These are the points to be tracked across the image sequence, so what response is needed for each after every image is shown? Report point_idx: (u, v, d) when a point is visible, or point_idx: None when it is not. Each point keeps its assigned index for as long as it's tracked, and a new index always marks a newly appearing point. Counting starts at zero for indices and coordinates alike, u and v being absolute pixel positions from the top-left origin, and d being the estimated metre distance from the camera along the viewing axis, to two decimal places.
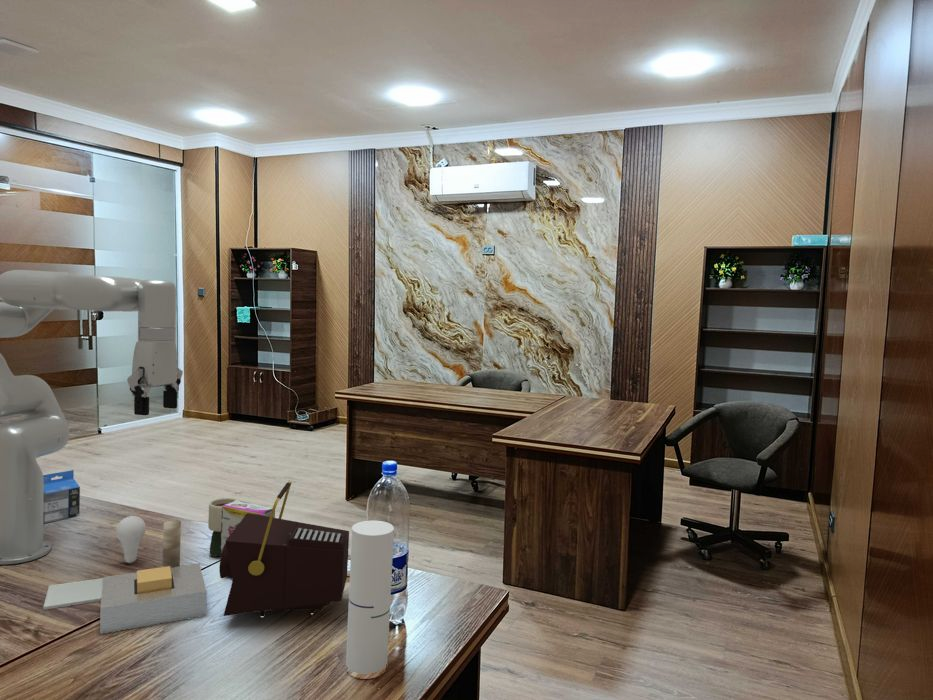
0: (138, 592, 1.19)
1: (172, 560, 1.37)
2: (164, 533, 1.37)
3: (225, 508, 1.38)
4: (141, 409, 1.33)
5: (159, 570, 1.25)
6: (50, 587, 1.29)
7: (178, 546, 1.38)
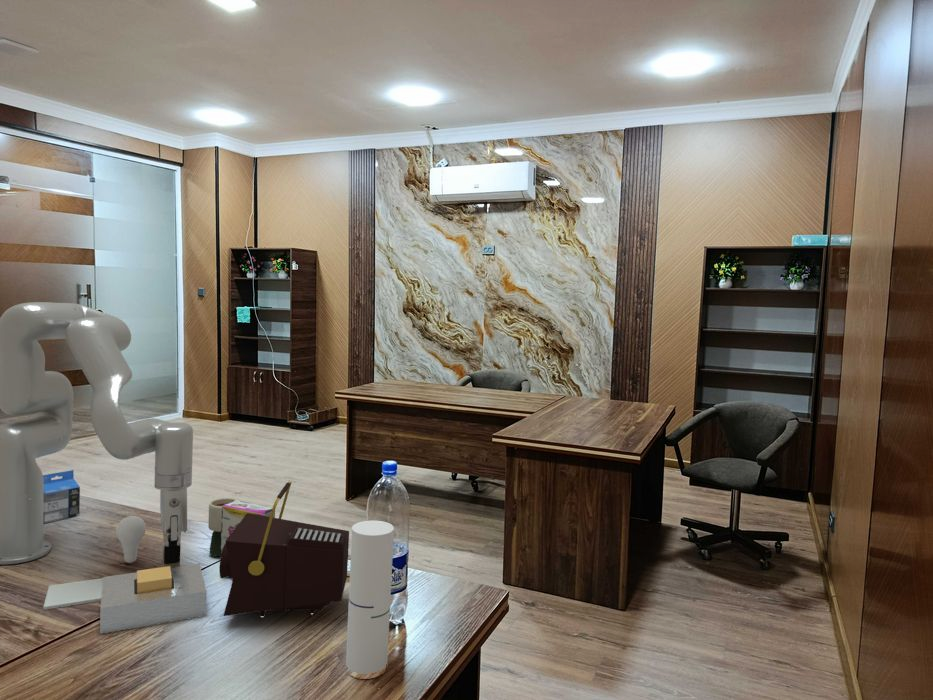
0: (138, 592, 1.19)
1: None
2: None
3: (225, 508, 1.38)
4: None
5: (159, 570, 1.25)
6: (50, 587, 1.29)
7: None
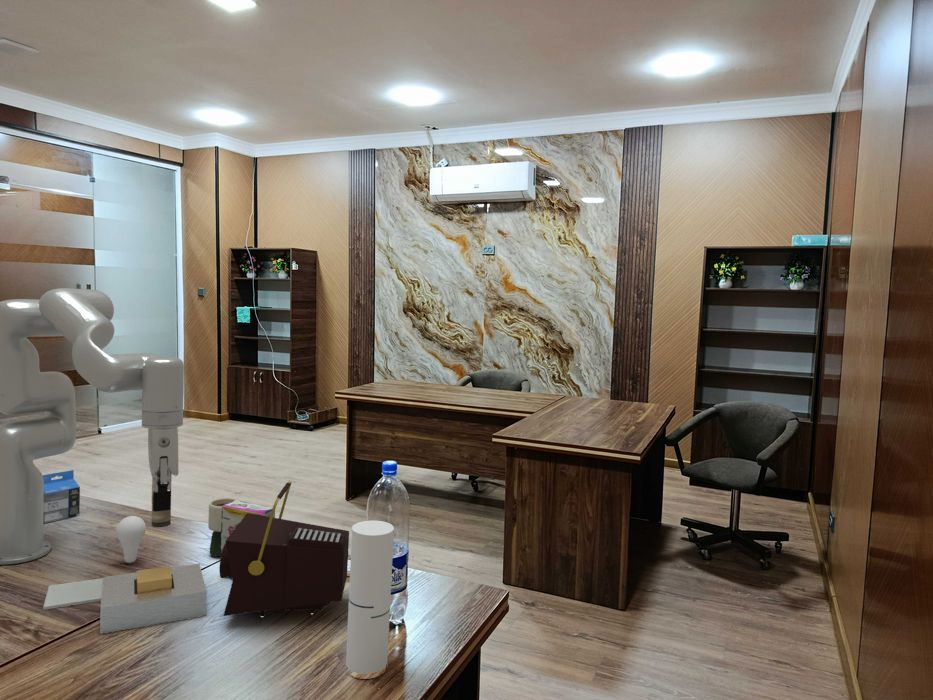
0: (138, 592, 1.19)
1: None
2: (153, 478, 1.24)
3: (225, 508, 1.38)
4: None
5: (159, 570, 1.25)
6: (50, 587, 1.29)
7: None
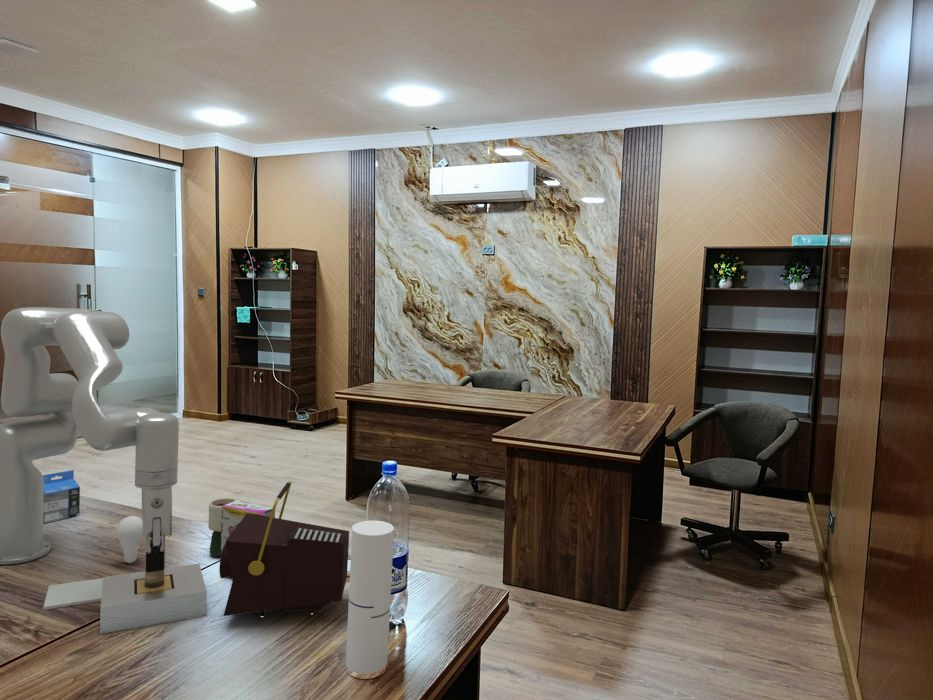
0: None
1: None
2: None
3: (225, 508, 1.38)
4: None
5: None
6: (50, 587, 1.29)
7: None
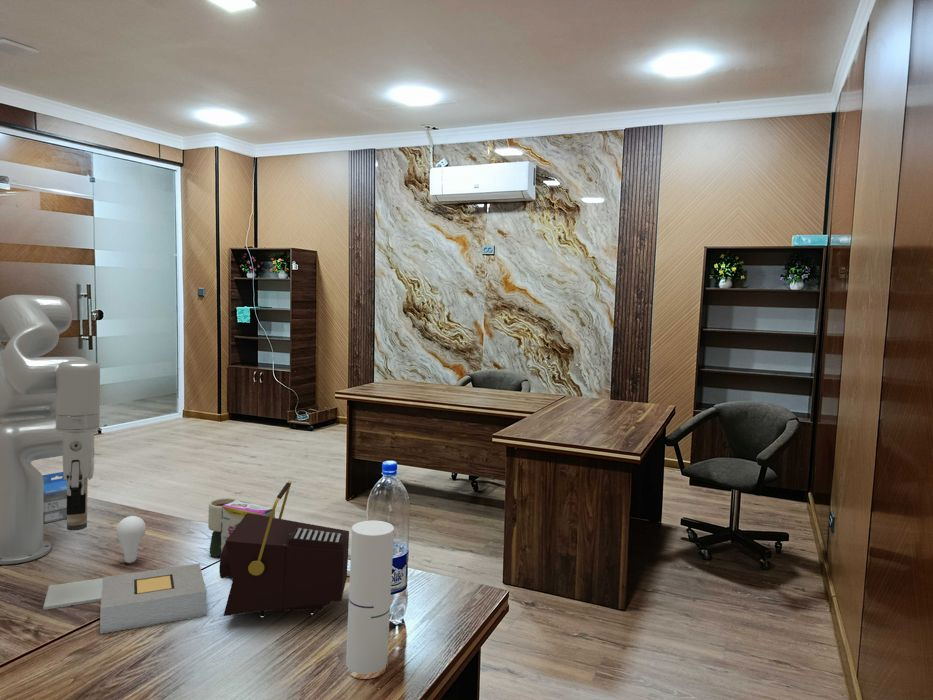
0: None
1: None
2: None
3: (225, 508, 1.38)
4: None
5: (159, 580, 1.25)
6: (50, 587, 1.29)
7: None
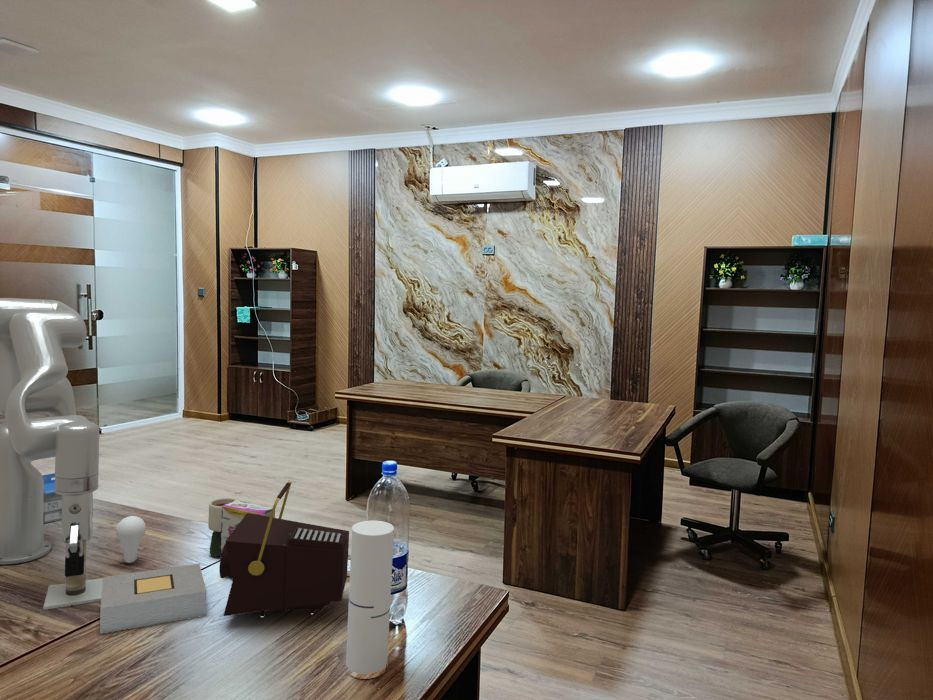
0: None
1: (76, 577, 1.26)
2: None
3: (225, 508, 1.38)
4: None
5: (159, 580, 1.25)
6: (50, 587, 1.29)
7: None
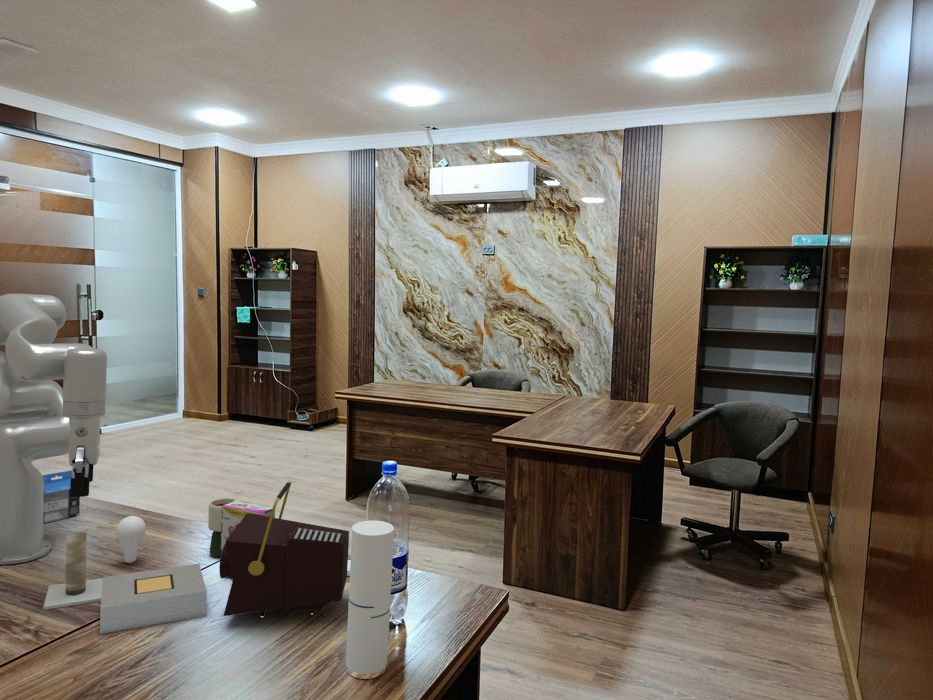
0: None
1: (76, 576, 1.26)
2: (66, 546, 1.25)
3: (225, 508, 1.38)
4: None
5: (159, 580, 1.25)
6: (50, 587, 1.29)
7: (83, 560, 1.26)
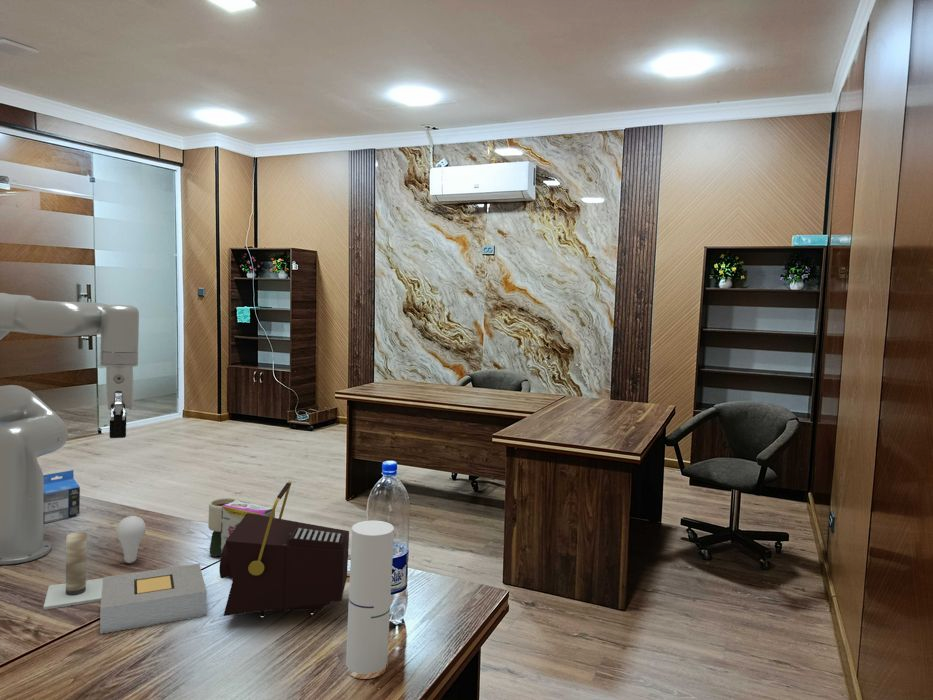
0: None
1: (76, 576, 1.26)
2: (67, 546, 1.25)
3: (225, 508, 1.38)
4: None
5: (159, 580, 1.25)
6: (50, 587, 1.29)
7: (83, 560, 1.27)
